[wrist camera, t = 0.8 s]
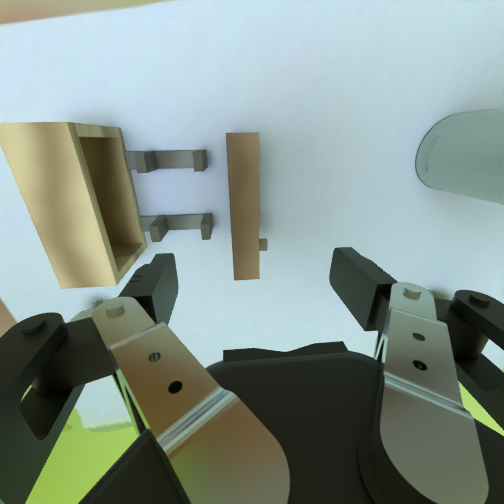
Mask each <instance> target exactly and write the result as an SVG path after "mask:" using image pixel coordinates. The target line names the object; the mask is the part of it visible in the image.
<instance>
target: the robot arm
mask: <svg viewBox="0 0 504 504" xmlns="http://www.w3.org/2000/svg"><path fill="white" fill-rule="evenodd" d="M416 170H417V173H418V176H419V178H420V180H421V181H422V182H423V183H424V184H425V185H427V186H429V187H432V188H436V189H440V190H444V191H449V192H453V193H456V194H460V195H465V196H469V197H473V198H478V199H482V200H486V201H490V202H495V203H499V204H503V205H504V108H501V109H492V110H483V111H474V112H466V113H458V114H454V115H451V116H449V117H447V118H445V119H443V120H442V121H440V122H439V123H437V124H436V125H435V126H434V127H433V128H432V129H431V130H430V131H429V132H428V134H427V135H426V136H425V138H424V140H423V141H422V143H421V145H420V148H419V150H418V153H417V159H416ZM329 279H330V284H331V286H332V288H333V289H334V290H335V292H336V293H337V295H338V296H339V297H340V299H341V300H342V301H343V303H344V304H345V305H346V307H347V308H348V309H349V311H350V312H351V313H352V315H353V316H354V317H355V319H356V320H357V322H358V323H359V324H360V326H361V327H362V328H363V330H364V331H378V335H377V338H376V343H375V349H374V354H373V358H372V357H369V356H367V355H364V354H361V353H357V352H353V351H348V349H347V348H346V346H345V344H344V343H343V341H340V342H327V343H314V344H311V345H308V346H305V347H302V348H298V349H295V350H292V351H289V352H281V351H273V350H265V349H258V348H247V349H234V350H223V361H220V362H217V363H214V364H212V365H210V366H208V367H206V368H204V367H203V366H202V365H201V364H200V363H199V361H198V360H197V359H196V358H195V357H194V356H193V355H192V353H191V352H190V351H189V350H188V349H187V348H186V347H185V345H184V344H183V343H182V342H181V341H180V340H179V339H178V337H177V336H176V335H175V334H174V333H173V332H172V331H171V329H170V328H169V327H168V323H169V320H170V317H171V314H172V310H173V307H174V304H175V301H176V298H177V294H178V278H177V271H176V264H175V257H174V254H173V253H163V254H156V255H155V257H154V258H153V260H152V262H151V263H150V264H145V265H143V266H142V267H140V268H139V269H137V270H136V271H135V273H134V274H133V276H132V277H131V279H130V280H129V283H127V284H126V286H125V287H124V289H123V290H122V292H121V293H120V295H119V296H118V297H117V298H113V299H110V300H107V301H105V302H103V303H101V304H100V305H98V306H97V307H96V308H95V309H94V310H93V312H92V317H89V318H85V319H81V320H77V321H73V322H68V323H65V322H64V320H63V317H62V315H61V314H59V313H43V314H38V315H35V316H32V317H29V318H27V319H25V320H23V321H21V322H19V323H17V324H16V325H14V326H13V327H11V328H10V329H9V330H8V331H7V332H6V333H5V334H4V335H3V336H2V337H1V338H0V504H25V502H26V500H27V499H28V496H29V495H30V493H31V491H32V489H33V487H34V485H35V483H36V481H37V479H38V477H39V475H40V473H41V471H42V469H43V467H44V465H45V463H46V461H47V459H48V457H49V455H50V453H51V451H52V449H53V447H54V445H55V443H56V441H57V439H58V437H59V435H60V433H61V431H62V430H63V428H64V426H65V424H66V422H67V420H68V418H69V416H70V414H71V412H72V410H73V408H74V406H75V404H76V402H77V400H78V398H79V396H80V394H81V392H82V390H83V388H84V386H85V384H86V383H89V382H92V381H95V380H98V379H101V378H104V377H107V376H110V375H112V377H113V379H114V382H115V384H116V386H117V388H118V390H119V393H120V395H121V397H122V399H123V401H124V404H125V406H126V408H127V410H128V412H129V415H130V417H131V420H132V422H133V425H134V427H135V430H136V433H137V435H138V438H137V439H136V440H135V441H134V442H133V443H132V444H131V446H130V447H129V448H128V449H127V450H126V451H125V452H124V453H123V454H122V456H121V457H120V458H119V459H118V460H117V461H116V462H115V463H114V464H113V465H112V467H111V468H110V469H109V470H108V471H107V472H106V473H105V475H103V477H102V478H101V479H100V480H99V481H98V482H97V483H96V484H95V485H94V487H93V488H92V489H91V490H90V491H89V492H88V493H87V494H86V495H85V497H84V498H83V499H82V500H81V501H80V502H79V503H78V504H504V436H502V435H501V434H499V433H498V432H496V431H494V430H492V429H491V428H489V427H488V426H486V425H484V424H482V423H481V422H479V421H478V420H476V419H474V418H473V417H472V415H471V413H470V412H469V411H467V410H466V409H465V408H464V406H463V403H462V399H461V393H460V389H459V383H458V381H459V382H460V383H461V384H462V385H463V386H464V387H465V388H466V389H467V390H468V392H469V393H470V394H471V395H472V396H473V397H474V398H475V399H476V400H477V402H478V403H479V404H480V405H481V406H482V407H483V408H484V409H485V410H486V411H487V412H488V414H489V415H490V416H491V417H492V418H493V419H494V420H495V421H496V422H497V423H498V424H499V426H500V427H501V428H502V429H503V430H504V372H502V371H501V370H500V369H499V368H498V367H497V366H496V365H494V364H493V363H492V362H491V361H490V360H489V359H488V358H486V357H485V356H484V355H483V354H482V353H481V352H482V351H483V349H484V347H485V345H486V343H487V342H488V340H489V339H490V340H491V341H493V342H494V343H495V344H496V345H498V346H499V347H500V348H502V349H503V350H504V304H503V303H501V302H499V301H498V300H496V299H494V298H492V297H490V296H488V295H485V294H483V293H479V292H475V291H471V290H459V291H456V293H455V295H454V297H453V299H452V301H449V300H442V299H434V296H433V295H432V293H431V292H429V291H428V290H426V289H425V288H423V287H421V286H418V285H415V284H411V283H406V282H397V281H396V280H395V279H394V278H392V277H391V276H390V275H389V274H387V273H386V272H385V271H383V270H382V269H381V268H380V267H378V265H376V264H375V263H374V262H373V261H371V260H369V259H367V258H365V257H363V256H361V255H360V254H359V253H358V252H357V251H355V250H354V249H353V248H352V247H341V248H335V249H334V252H333V257H332V263H331V269H330V275H329ZM30 385H32V387H31V389H30V390H29V392H28V393H27V395H26V396H25V397H24V399H23V400H22V397H23V395H24V393H25V392H26V390H27V389H28V387H29V386H30ZM21 400H22V401H21Z"/></svg>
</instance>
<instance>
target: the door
mask: <svg viewBox="0 0 504 504" xmlns="http://www.w3.org/2000/svg"><path fill="white" fill-rule="evenodd" d="M226 144H227V162H228V179H229V197H230V215H231V232H232V250H233V268H234V280H250V279H259V251H267V239H259V133H226Z"/></svg>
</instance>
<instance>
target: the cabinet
mask: <svg viewBox="0 0 504 504" xmlns="http://www.w3.org/2000/svg"><path fill="white" fill-rule="evenodd" d="M0 145H1V148H2V150H3V153H4V155H5V157H6V160H7V162H8V164H9V167H10V169H11V171H12V174H13V176H14V179H15V181H16V183H17V186H18V188H19V190H20V193H21V195H22V197H23V200H24V202H25V204H26V207H27V209H28V212H29V214H30V216H31V219H32V221H33V223H34V226H35V228H36V230H37V233H38V235H39V237H40V240H41V242H42V245H43V247H44V249H45V252H46V254H47V256H48V259H49V261H50V263H51V266H52V268H53V271H54V273H55V275H56V278H57V280H58V282H59V285H60V287H61V289H65V288H83V287H101V286H117V284H118V283H119V282H120V281H121V279H122V278H123V277H124V276H125V274H126V273H127V272H128V270H129V269H130V268H131V267H132V265H133V264H134V263H135V262H136V260H137V259H138V258H139V256H140V255H141V254H142V253H143V251H144V250H145V249H146V248H147V245H146V240H145V236H144V231H150V234H151V239H152V242H161V240H162V239H163V237H164V236H165V235H166V233H167V232H168V230H185V229H201V234H202V240H208V239H211V234H212V229H213V224H212V213H211V214H185V215H159V216H140V213H139V209H138V204H137V200H136V195H135V191H134V186H133V182H132V178H131V173H130V169H137V172H138V173H148V172H151V171H153V170H156V169H166V168H194V172H196V171H204V170H205V169H206V168H207V158H206V150H176V151H128V152H126V151H125V146H124V142H123V137H122V133H121V128H115V127H107V126H98V125H89V124H80V123H71V122H30V123H0Z"/></svg>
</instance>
